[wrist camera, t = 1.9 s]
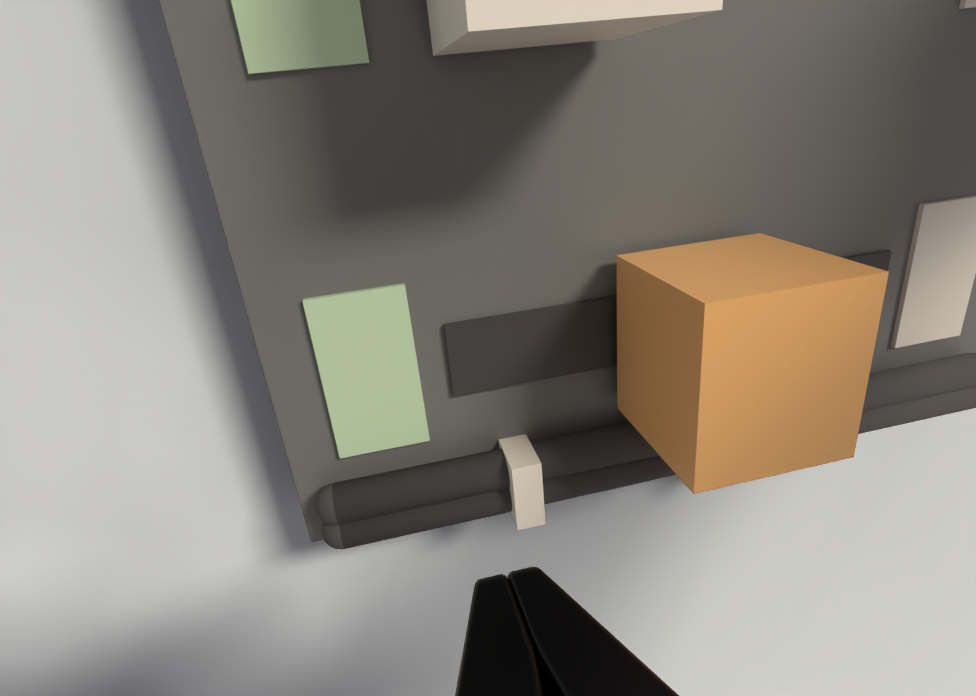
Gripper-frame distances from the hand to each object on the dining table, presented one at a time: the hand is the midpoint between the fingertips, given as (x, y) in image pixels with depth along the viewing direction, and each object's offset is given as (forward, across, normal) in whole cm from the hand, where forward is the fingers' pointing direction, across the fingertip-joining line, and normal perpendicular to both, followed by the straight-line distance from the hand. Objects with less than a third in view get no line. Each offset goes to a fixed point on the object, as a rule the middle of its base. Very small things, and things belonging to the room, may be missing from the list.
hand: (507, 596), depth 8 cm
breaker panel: (+10, -7, -4) cm, 13 cm away
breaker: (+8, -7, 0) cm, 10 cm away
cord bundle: (+8, -7, +4) cm, 11 cm away
